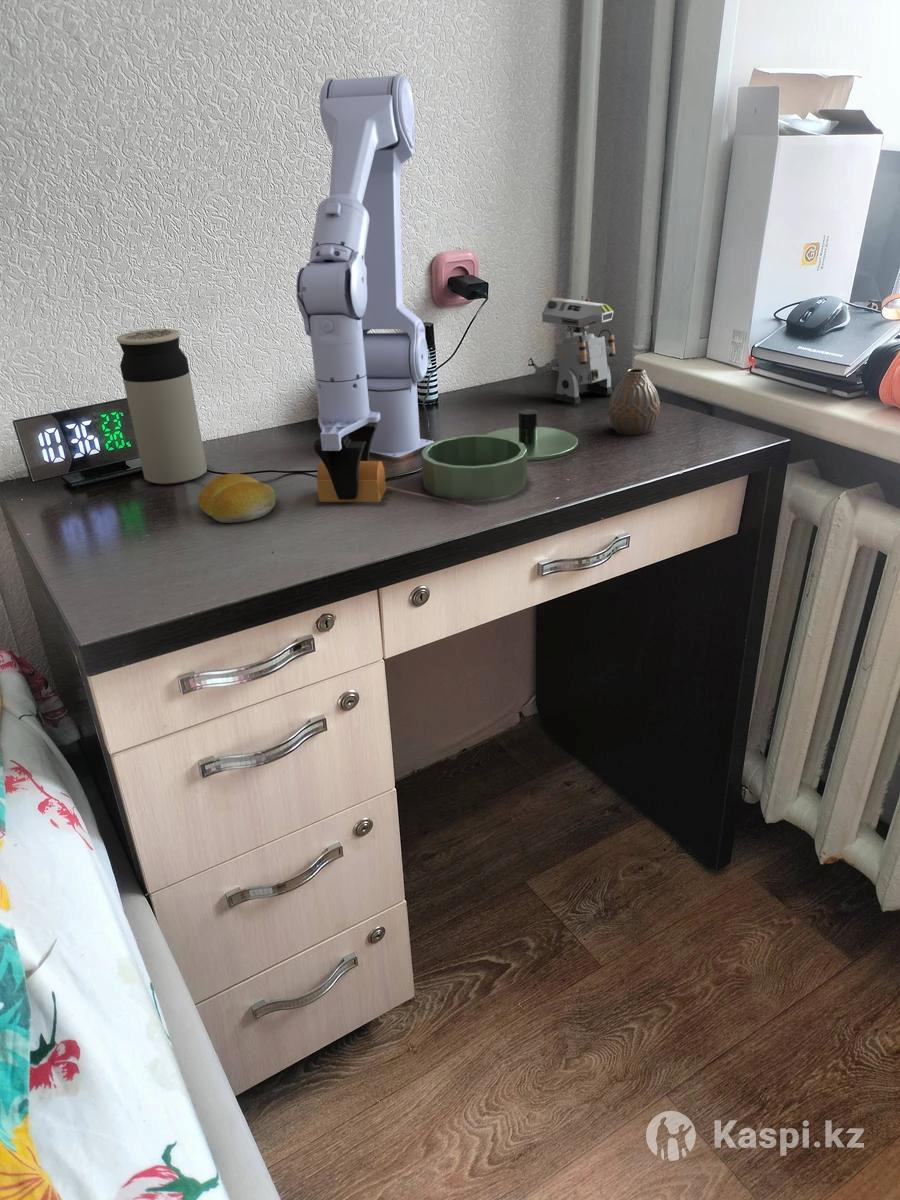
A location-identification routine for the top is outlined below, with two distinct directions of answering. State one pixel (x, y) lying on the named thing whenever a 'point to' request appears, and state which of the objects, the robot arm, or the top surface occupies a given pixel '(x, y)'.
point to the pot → (474, 467)
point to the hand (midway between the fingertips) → (352, 490)
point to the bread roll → (236, 498)
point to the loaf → (368, 484)
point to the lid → (539, 438)
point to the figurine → (579, 348)
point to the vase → (634, 404)
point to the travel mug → (162, 406)
